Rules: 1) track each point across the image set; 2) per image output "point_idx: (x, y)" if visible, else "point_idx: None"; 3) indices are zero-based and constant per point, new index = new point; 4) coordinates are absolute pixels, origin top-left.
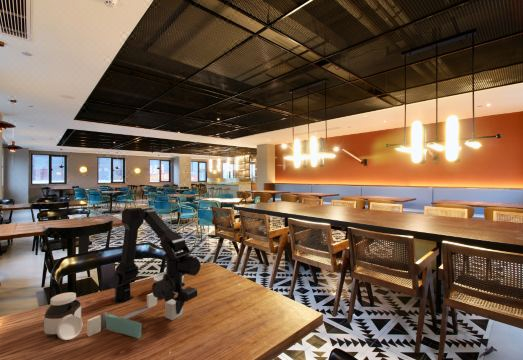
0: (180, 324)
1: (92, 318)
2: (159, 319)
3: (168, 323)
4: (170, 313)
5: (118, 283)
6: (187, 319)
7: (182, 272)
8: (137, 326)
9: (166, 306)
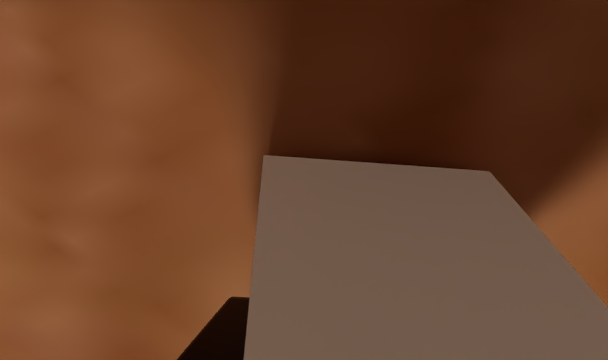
0: (15, 130)
1: None
2: (556, 73)
3: (262, 45)
4: (332, 220)
5: None
6: (60, 303)
7: None
8: None
9: (555, 326)
